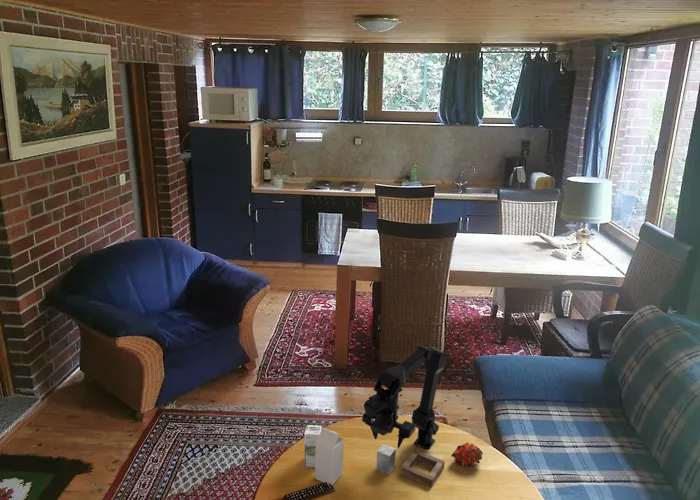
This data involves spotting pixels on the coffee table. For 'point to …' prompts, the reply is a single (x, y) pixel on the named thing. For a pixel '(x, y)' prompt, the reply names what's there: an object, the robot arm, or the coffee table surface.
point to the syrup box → (310, 445)
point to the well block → (418, 475)
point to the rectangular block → (386, 459)
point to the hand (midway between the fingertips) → (387, 443)
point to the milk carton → (329, 456)
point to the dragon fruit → (467, 454)
